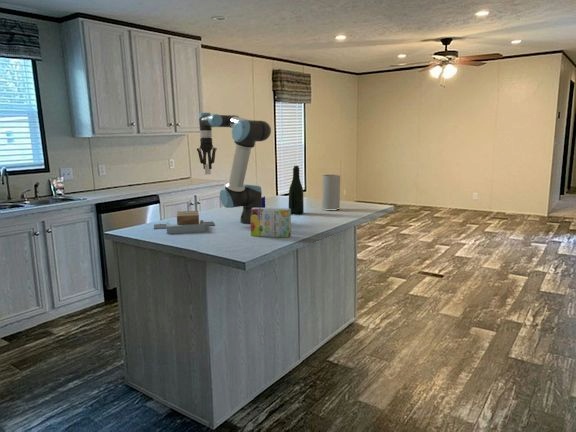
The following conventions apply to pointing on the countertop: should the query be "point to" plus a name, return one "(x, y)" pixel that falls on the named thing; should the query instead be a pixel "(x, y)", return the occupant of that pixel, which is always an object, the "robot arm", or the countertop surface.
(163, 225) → the mats
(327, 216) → the countertop surface
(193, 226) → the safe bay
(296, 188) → the beer bottle
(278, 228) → the snack box
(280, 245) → the countertop surface
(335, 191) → the cylinder vase
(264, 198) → the puzzle cube
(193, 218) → the walnut block
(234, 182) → the robot arm
